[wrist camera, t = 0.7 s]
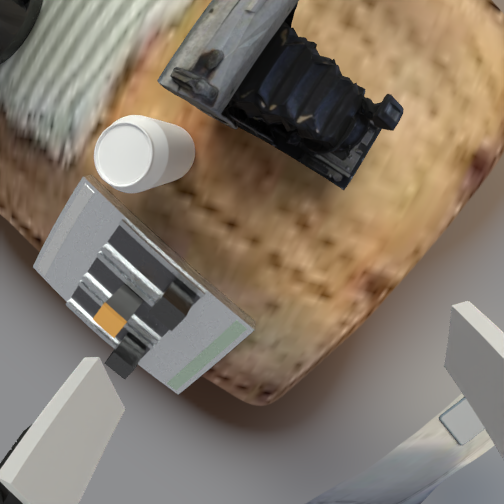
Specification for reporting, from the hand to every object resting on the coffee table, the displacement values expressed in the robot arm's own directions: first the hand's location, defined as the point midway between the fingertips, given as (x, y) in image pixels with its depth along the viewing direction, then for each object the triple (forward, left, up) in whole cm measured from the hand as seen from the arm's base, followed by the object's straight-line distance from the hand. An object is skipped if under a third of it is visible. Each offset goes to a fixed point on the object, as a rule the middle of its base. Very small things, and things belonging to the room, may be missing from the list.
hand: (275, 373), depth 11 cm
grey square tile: (+51, 0, -26) cm, 57 cm away
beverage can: (-13, -2, -25) cm, 28 cm away
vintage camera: (-6, +10, -25) cm, 28 cm away
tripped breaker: (-6, -17, -23) cm, 29 cm away
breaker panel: (-6, -17, -25) cm, 31 cm away
